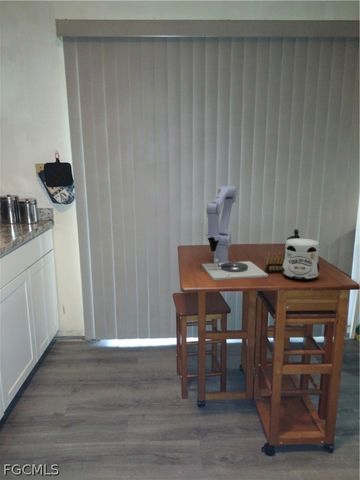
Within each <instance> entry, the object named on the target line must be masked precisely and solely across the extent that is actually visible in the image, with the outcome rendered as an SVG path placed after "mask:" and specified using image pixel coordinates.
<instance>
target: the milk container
mask: <svg viewBox="0 0 360 480" xmlns="http://www.w3.org/2000/svg"><path fill="white" fill-rule="evenodd" d="M287 239H288V238H287ZM287 239H286V240H287ZM286 240H285V242H286V245H285V244H284V245H285V246H284V248H285V251H284V257H285V259H284V262H283V272H282V273H283V274H284V275H285V277H287V278H291V279H292V280H293V279H294V280H301V281H303V280H305V281H307V280H314V279H316V278H317V277H318V276H319V273H320V263H319V252H320V251H319V249H320V244H319V241H317V240H315V239H311V238H301V237H300V238H296V239H288V240H287V241H286Z"/></svg>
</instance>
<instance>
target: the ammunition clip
mask: <svg viewBox="0 0 360 480" xmlns="http://www.w3.org/2000/svg"><path fill="white" fill-rule="evenodd" d="M284 259H285V251H282V252H280V251H279V252H277V251H276V252H275V253H274V251H272V252H270V251H268V254H267V257H266V262H265V266H264V272H265V273H283V262H284Z"/></svg>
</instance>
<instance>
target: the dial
mask: <svg viewBox="0 0 360 480" xmlns="http://www.w3.org/2000/svg"><path fill="white" fill-rule="evenodd" d="M213 259H214V258H213ZM239 262H240V261H234V262H233V261H232V262H228V263H224V264H222V265H219V259H214V260H213V263H214V267H216V268H217V267H221V269H222V270H224V271H228V272H243V271H246V270H248V265H246V264H244V263H239Z"/></svg>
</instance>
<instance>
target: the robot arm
mask: <svg viewBox="0 0 360 480" xmlns="http://www.w3.org/2000/svg"><path fill="white" fill-rule="evenodd" d="M217 193H218V195H216V196H215V197H214V198H213V199H212V201H211V202H210V203H208V204H207V205H206V215H207V216H206V217H207V225H208V226H207V233H205V236H206V237H207V241H208V243H209V247H210V251H211V252H214V253H213V258H212V261H214V259H219V263H228V262H230V260H229V247H230V246H231V244H232V234H231V232H230V231H229V230H228V229H229V222H230V218H231V212H232V208H233V204H234V203H236V200H237V195H238V188H237V187H236V186H235V185H233V186H230V185H229V186H227V185H226V186H222V185H220V186H219V187H218V190H217ZM222 206H223V208H222ZM220 215H221V216H220ZM220 217H221V218H220Z"/></svg>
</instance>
